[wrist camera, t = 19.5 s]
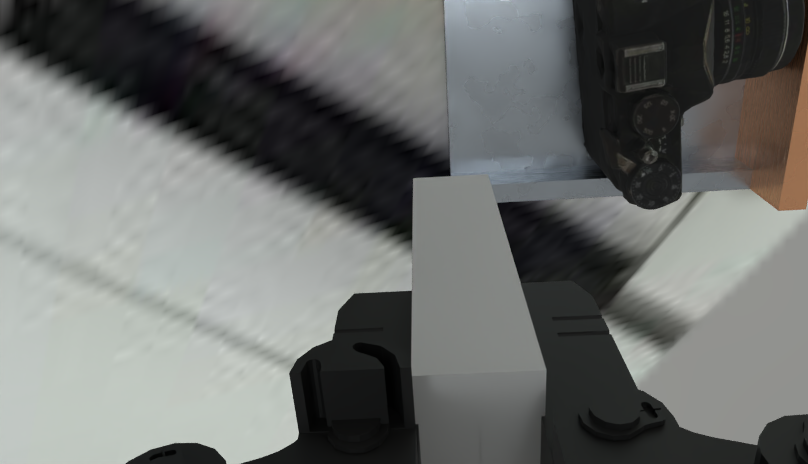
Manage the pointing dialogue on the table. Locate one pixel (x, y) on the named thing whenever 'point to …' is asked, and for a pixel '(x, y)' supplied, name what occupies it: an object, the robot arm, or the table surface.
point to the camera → (667, 77)
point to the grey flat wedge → (562, 113)
